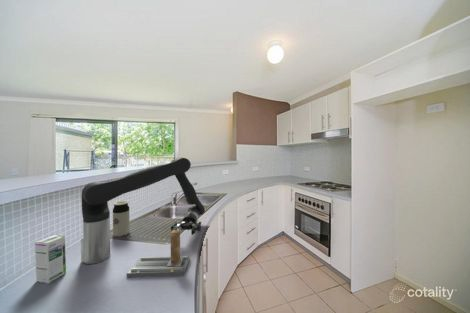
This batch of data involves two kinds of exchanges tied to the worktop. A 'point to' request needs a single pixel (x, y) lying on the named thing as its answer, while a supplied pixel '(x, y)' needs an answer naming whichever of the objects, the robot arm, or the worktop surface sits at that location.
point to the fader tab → (175, 250)
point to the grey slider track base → (157, 267)
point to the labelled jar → (121, 218)
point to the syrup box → (50, 258)
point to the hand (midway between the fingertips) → (182, 233)
